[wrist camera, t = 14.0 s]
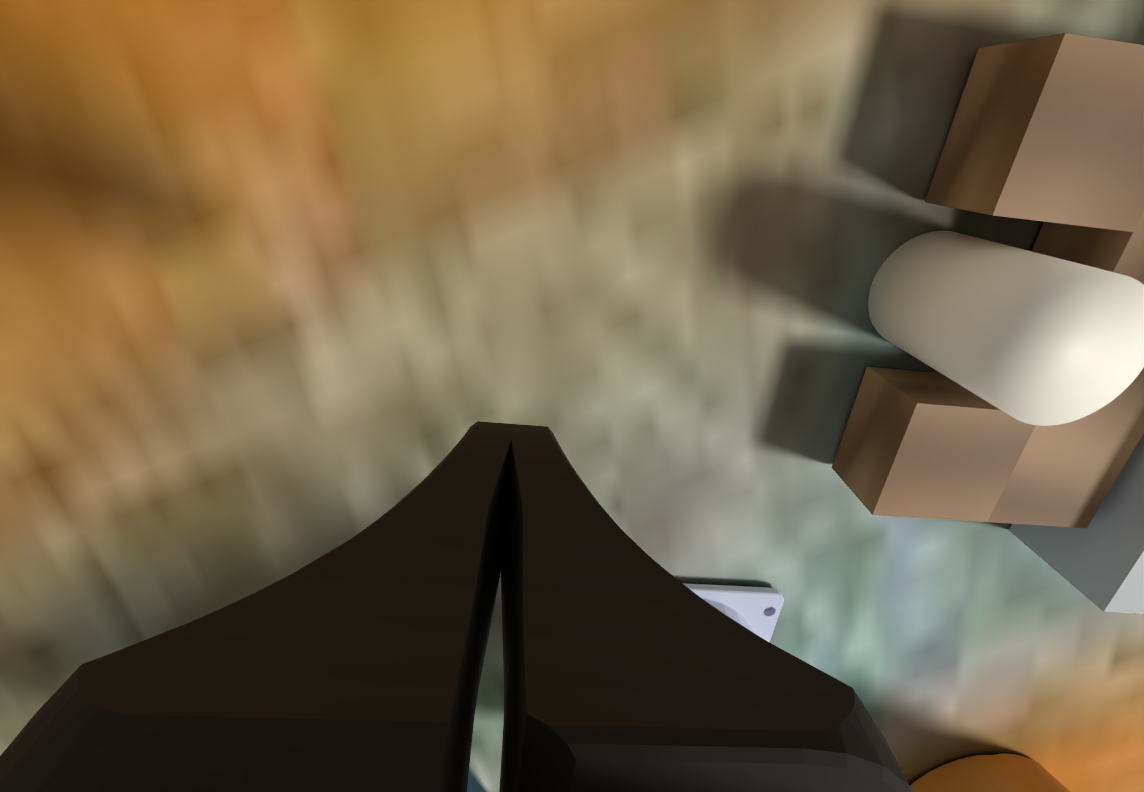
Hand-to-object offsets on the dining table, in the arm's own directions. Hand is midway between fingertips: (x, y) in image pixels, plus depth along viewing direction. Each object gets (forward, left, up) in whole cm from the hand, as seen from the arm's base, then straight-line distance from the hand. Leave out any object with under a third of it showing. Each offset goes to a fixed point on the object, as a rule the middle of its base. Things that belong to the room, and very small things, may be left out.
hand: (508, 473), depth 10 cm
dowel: (+2, -14, -10) cm, 17 cm away
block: (+2, -16, -10) cm, 19 cm away
